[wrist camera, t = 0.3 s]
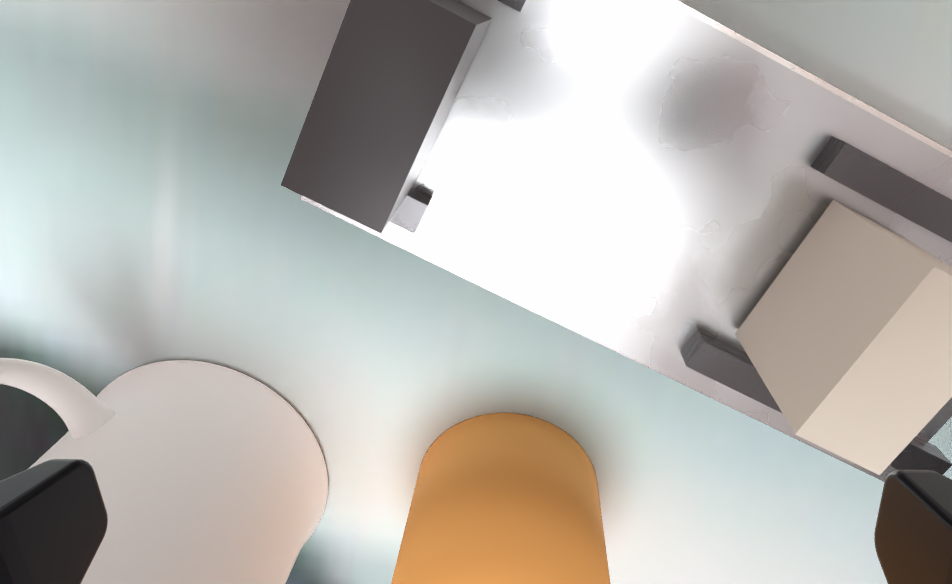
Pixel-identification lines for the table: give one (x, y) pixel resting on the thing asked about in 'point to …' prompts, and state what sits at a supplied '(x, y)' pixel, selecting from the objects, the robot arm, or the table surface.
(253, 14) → the table surface
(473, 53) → the toggle black
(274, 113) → the table surface
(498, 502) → the orange short rounded piece
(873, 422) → the beige cardboard box
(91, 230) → the table surface
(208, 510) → the mug
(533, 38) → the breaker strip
